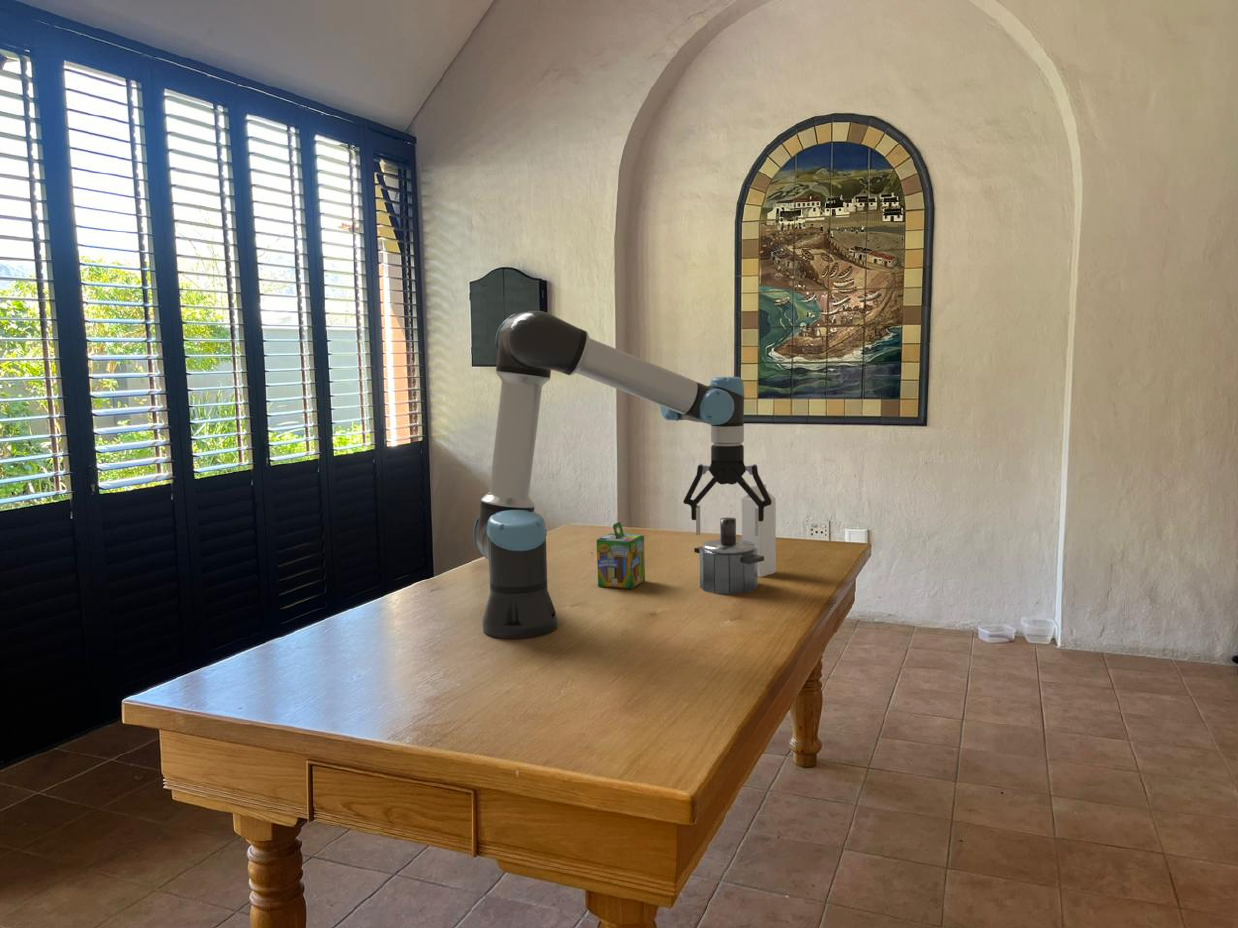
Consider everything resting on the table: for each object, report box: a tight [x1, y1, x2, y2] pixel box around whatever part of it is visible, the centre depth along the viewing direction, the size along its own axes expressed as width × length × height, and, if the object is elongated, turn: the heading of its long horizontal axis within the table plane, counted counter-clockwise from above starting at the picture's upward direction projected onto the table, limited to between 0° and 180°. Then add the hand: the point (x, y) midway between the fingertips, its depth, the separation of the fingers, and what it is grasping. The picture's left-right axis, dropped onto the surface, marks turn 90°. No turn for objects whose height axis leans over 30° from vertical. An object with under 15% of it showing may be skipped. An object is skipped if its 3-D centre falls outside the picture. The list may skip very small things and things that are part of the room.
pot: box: [693, 545, 764, 595], centre depth 220 cm, size 13×18×9 cm
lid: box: [702, 517, 754, 555], centre depth 219 cm, size 12×12×8 cm
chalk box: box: [596, 521, 646, 590], centre depth 225 cm, size 9×9×15 cm
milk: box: [741, 483, 777, 578], centre depth 232 cm, size 6×6×22 cm
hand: (727, 534), depth 219 cm, fingers open, 13 cm apart
